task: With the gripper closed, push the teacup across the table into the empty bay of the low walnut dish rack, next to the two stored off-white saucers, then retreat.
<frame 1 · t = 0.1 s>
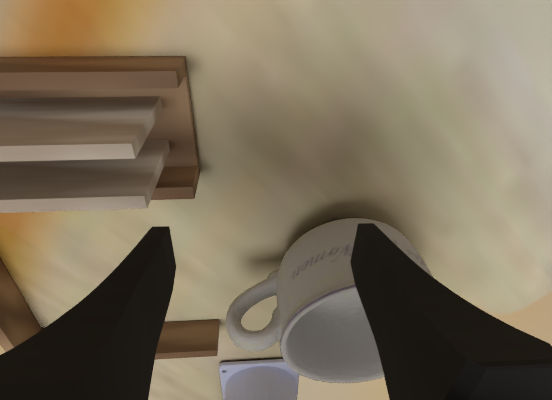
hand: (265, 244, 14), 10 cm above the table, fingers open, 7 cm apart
dish rack: (91, 228, 25), on the table
teacup: (319, 250, 28), on the table
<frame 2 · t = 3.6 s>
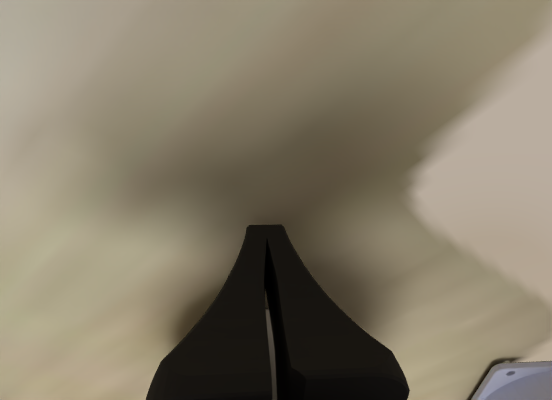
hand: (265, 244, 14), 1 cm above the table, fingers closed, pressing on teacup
teacup: (262, 359, 20), on the table, touching gripper
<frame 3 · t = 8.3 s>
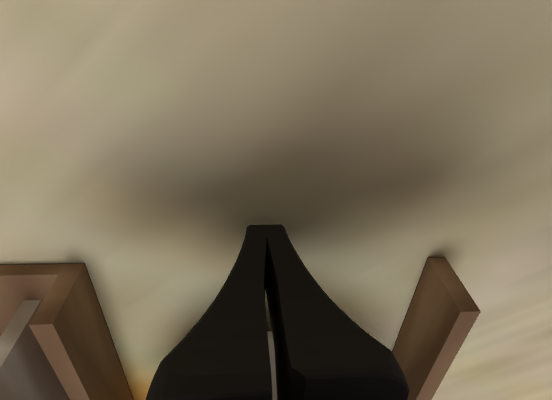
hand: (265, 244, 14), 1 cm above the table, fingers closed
dish rack: (202, 366, 20), on the table
teacup: (260, 375, 21), resting in dish rack
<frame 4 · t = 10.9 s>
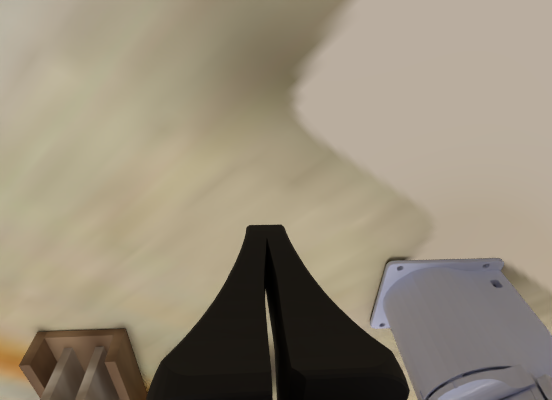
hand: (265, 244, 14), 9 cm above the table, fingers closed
dish rack: (186, 377, 35), on the table
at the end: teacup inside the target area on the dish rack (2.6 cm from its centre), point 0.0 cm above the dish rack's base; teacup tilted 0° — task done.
